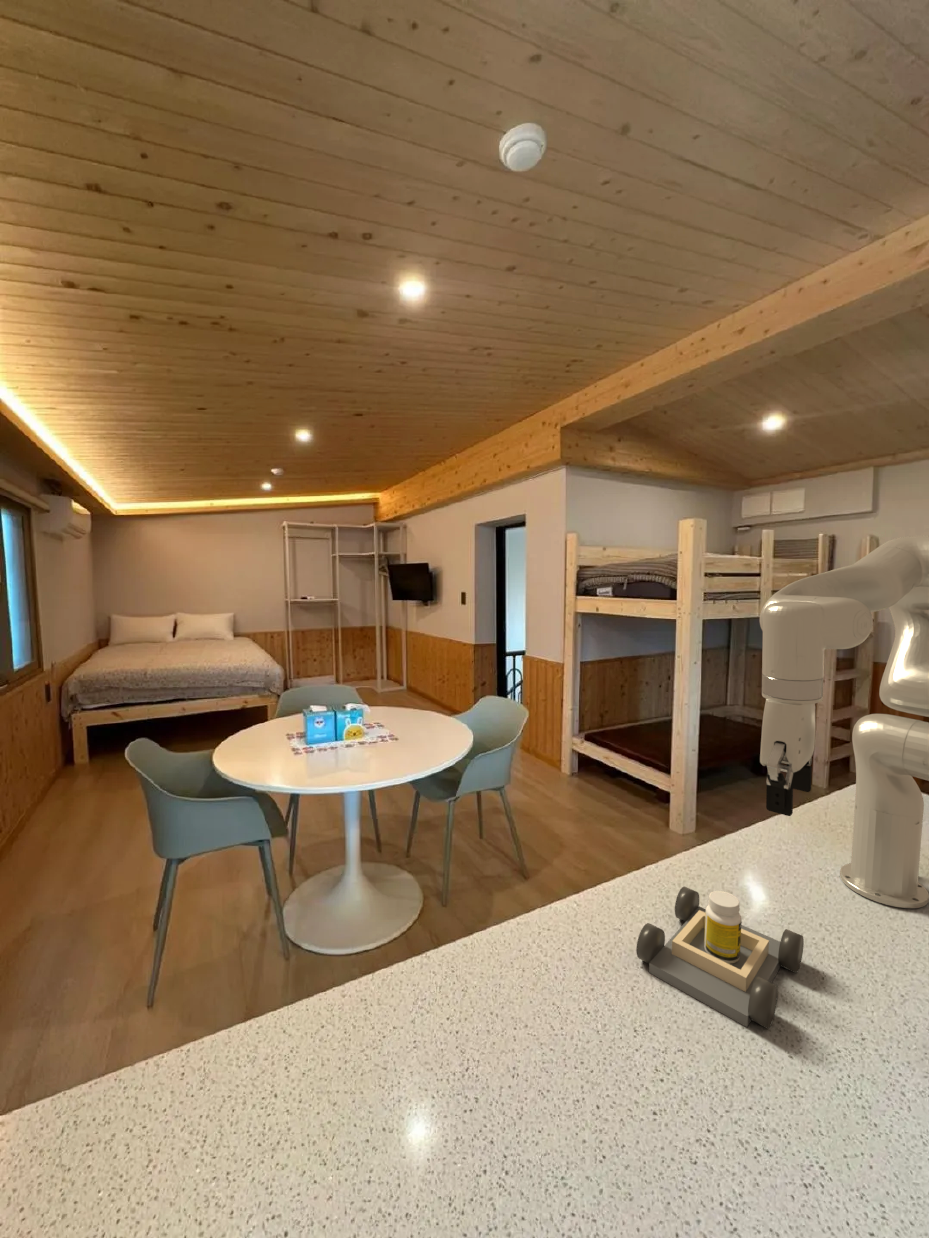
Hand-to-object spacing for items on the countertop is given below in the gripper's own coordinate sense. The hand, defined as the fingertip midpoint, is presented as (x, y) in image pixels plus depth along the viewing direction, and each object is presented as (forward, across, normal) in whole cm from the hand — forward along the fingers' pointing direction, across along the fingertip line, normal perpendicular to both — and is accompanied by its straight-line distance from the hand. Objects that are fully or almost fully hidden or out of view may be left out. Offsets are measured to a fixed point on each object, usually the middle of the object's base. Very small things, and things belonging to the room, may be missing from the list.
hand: (789, 800), depth 79 cm
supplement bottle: (+22, +11, -6) cm, 25 cm away
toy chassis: (+23, +11, -6) cm, 26 cm away
